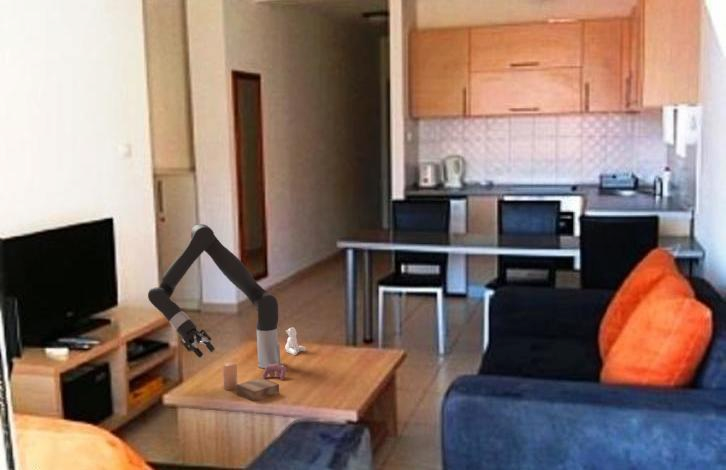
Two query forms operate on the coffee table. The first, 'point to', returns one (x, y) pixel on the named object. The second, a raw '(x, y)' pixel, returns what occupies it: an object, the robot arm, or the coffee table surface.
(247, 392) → the walnut block
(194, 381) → the coffee table surface
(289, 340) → the seated beast figurine
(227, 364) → the peach orange capsule
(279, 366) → the pink gamepad
